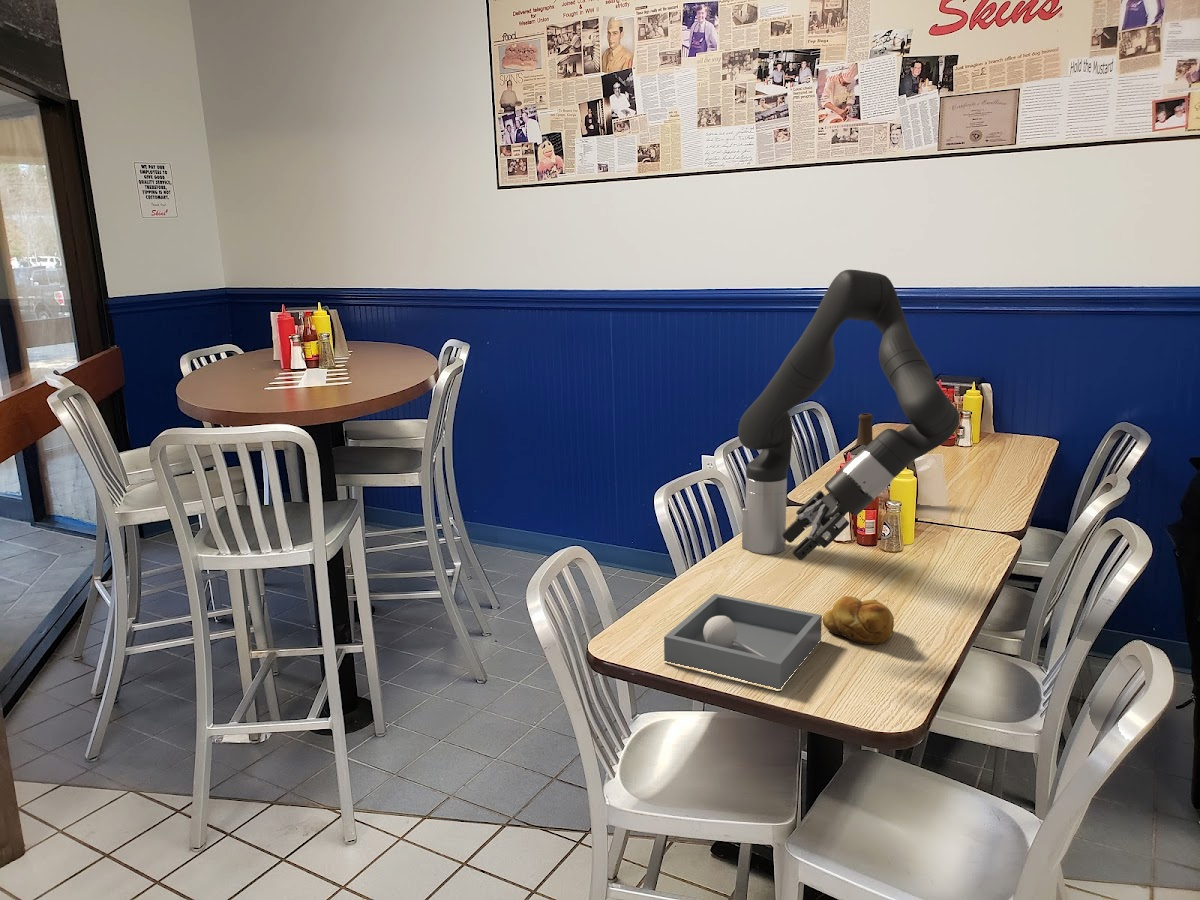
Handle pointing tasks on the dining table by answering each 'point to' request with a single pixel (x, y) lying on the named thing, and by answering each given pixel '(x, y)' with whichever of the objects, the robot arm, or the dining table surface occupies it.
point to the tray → (746, 640)
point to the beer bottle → (864, 429)
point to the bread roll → (860, 620)
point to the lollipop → (722, 633)
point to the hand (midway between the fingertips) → (790, 547)
